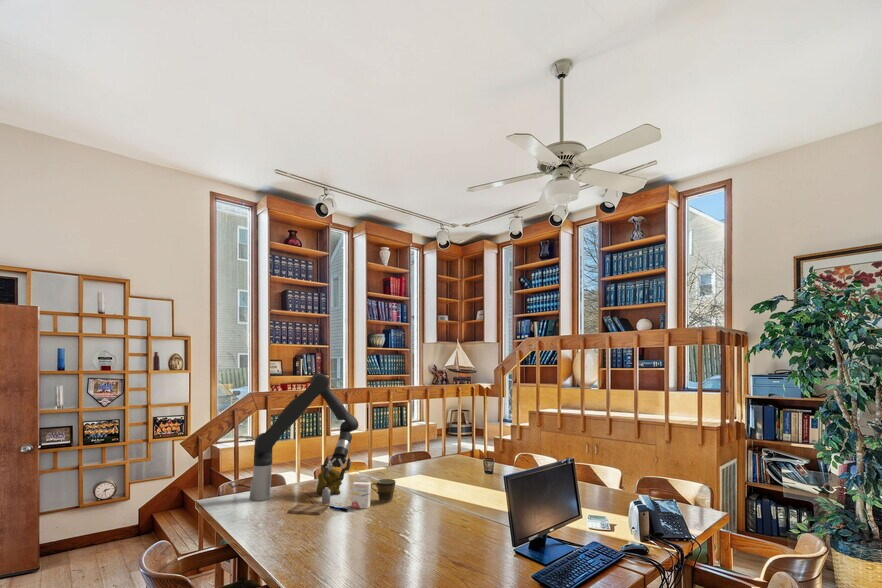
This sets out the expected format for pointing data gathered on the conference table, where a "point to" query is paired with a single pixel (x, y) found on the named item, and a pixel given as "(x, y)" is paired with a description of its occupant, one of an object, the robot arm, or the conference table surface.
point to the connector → (326, 497)
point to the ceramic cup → (385, 489)
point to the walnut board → (308, 509)
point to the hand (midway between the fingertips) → (333, 476)
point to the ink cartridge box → (361, 492)
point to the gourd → (329, 481)
